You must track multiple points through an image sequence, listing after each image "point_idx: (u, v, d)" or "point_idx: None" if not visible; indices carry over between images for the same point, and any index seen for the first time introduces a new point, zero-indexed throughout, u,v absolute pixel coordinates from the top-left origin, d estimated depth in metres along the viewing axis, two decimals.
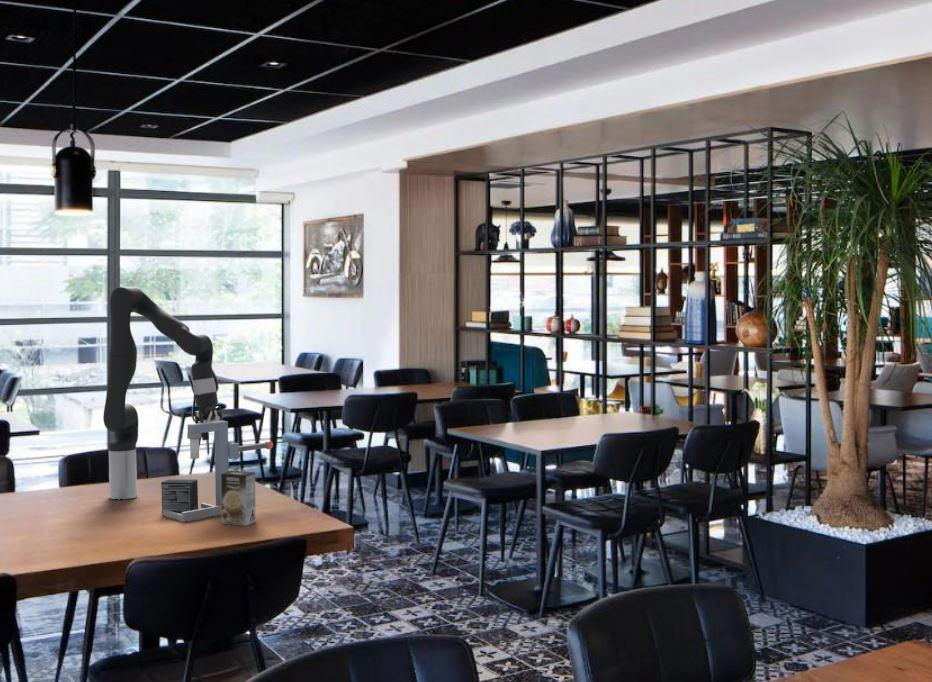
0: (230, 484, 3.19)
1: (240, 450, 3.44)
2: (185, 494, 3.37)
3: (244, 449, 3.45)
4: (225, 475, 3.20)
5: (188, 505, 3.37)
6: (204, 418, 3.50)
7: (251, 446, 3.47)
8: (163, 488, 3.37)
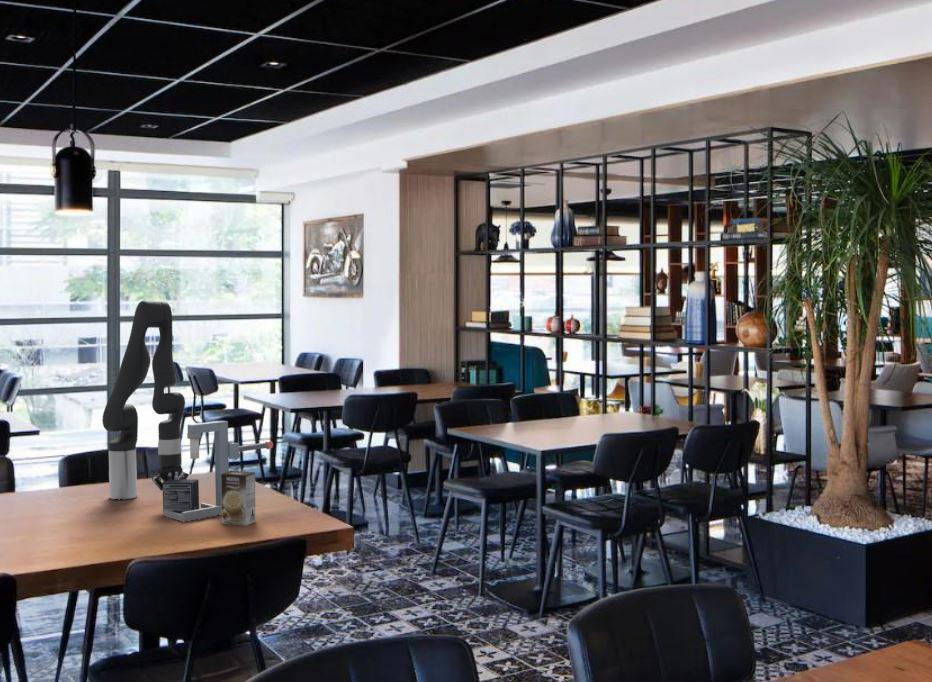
0: (230, 484, 3.19)
1: (240, 450, 3.44)
2: (186, 493, 3.36)
3: (244, 449, 3.45)
4: (225, 475, 3.20)
5: (190, 505, 3.36)
6: None
7: (251, 446, 3.47)
8: (164, 488, 3.37)
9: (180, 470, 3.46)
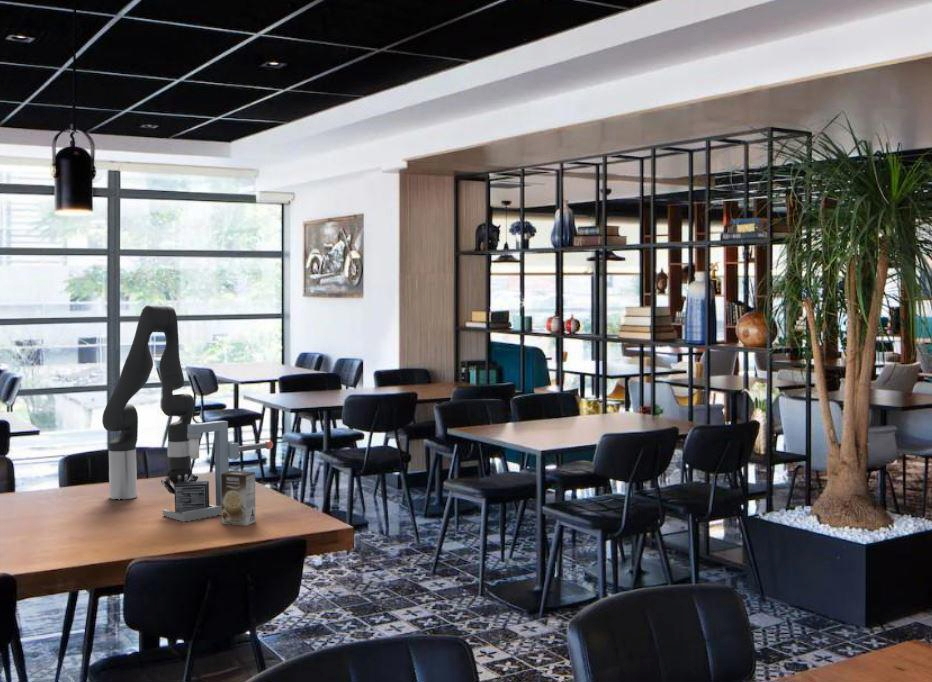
0: (230, 484, 3.19)
1: (240, 450, 3.44)
2: (200, 495, 3.33)
3: (244, 449, 3.45)
4: (225, 475, 3.20)
5: (203, 507, 3.34)
6: None
7: (251, 446, 3.47)
8: (176, 491, 3.32)
9: (190, 473, 3.41)
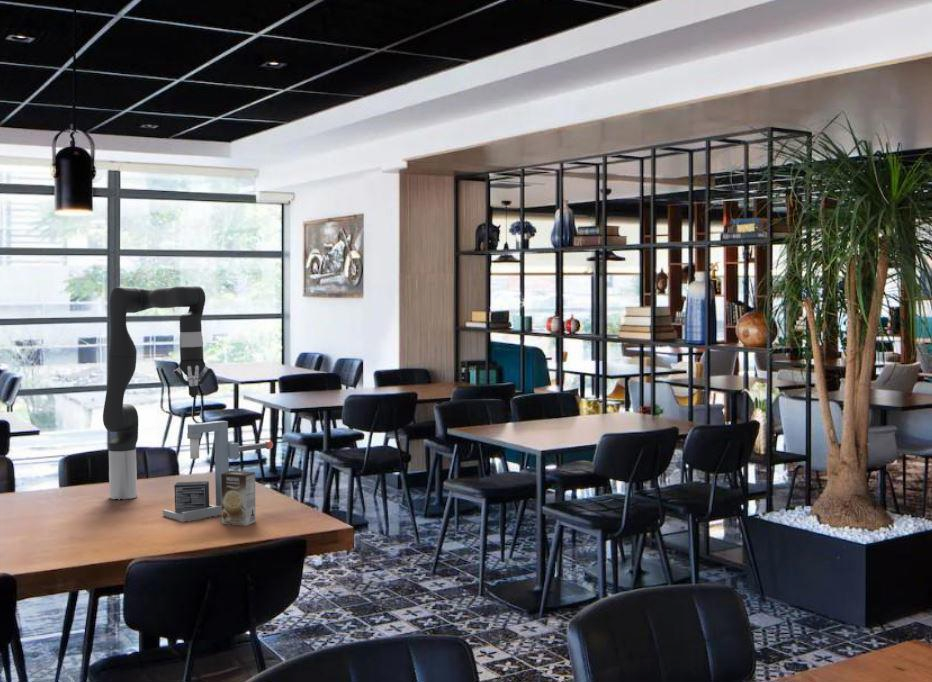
0: (230, 484, 3.19)
1: (240, 450, 3.44)
2: (200, 496, 3.33)
3: (244, 449, 3.45)
4: (225, 475, 3.20)
5: (204, 507, 3.34)
6: None
7: (251, 446, 3.47)
8: (176, 491, 3.32)
9: (202, 364, 3.42)
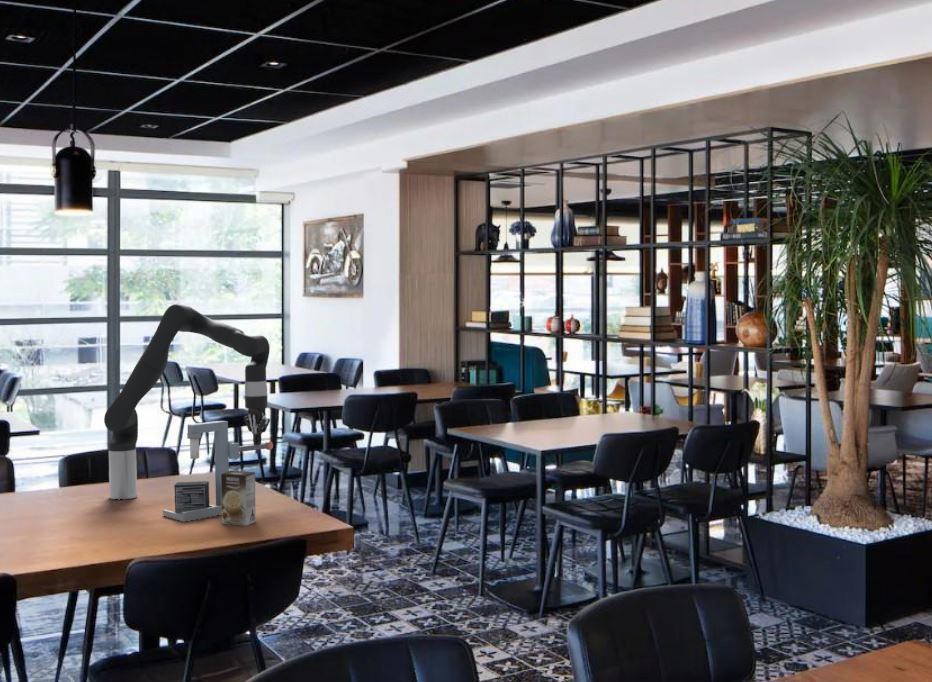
0: (230, 484, 3.19)
1: (240, 450, 3.44)
2: (200, 496, 3.33)
3: (244, 449, 3.45)
4: (225, 475, 3.20)
5: (204, 507, 3.34)
6: None
7: (251, 446, 3.47)
8: (176, 491, 3.32)
9: (259, 414, 3.46)
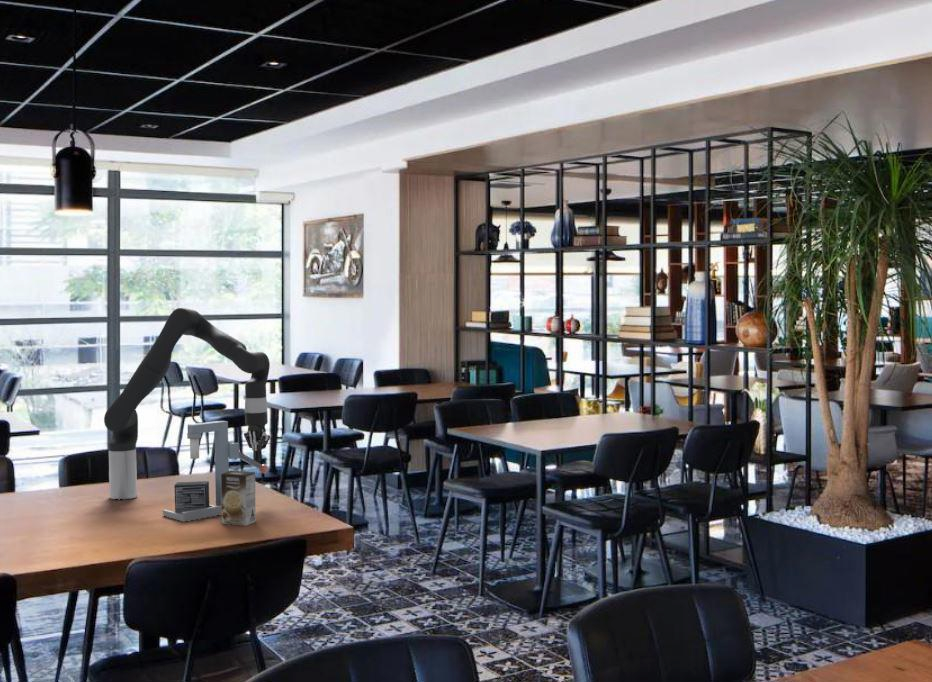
0: (230, 484, 3.19)
1: None
2: (200, 496, 3.33)
3: (242, 457, 3.44)
4: (225, 475, 3.20)
5: (204, 507, 3.34)
6: None
7: (249, 458, 3.46)
8: (176, 491, 3.32)
9: (259, 431, 3.46)
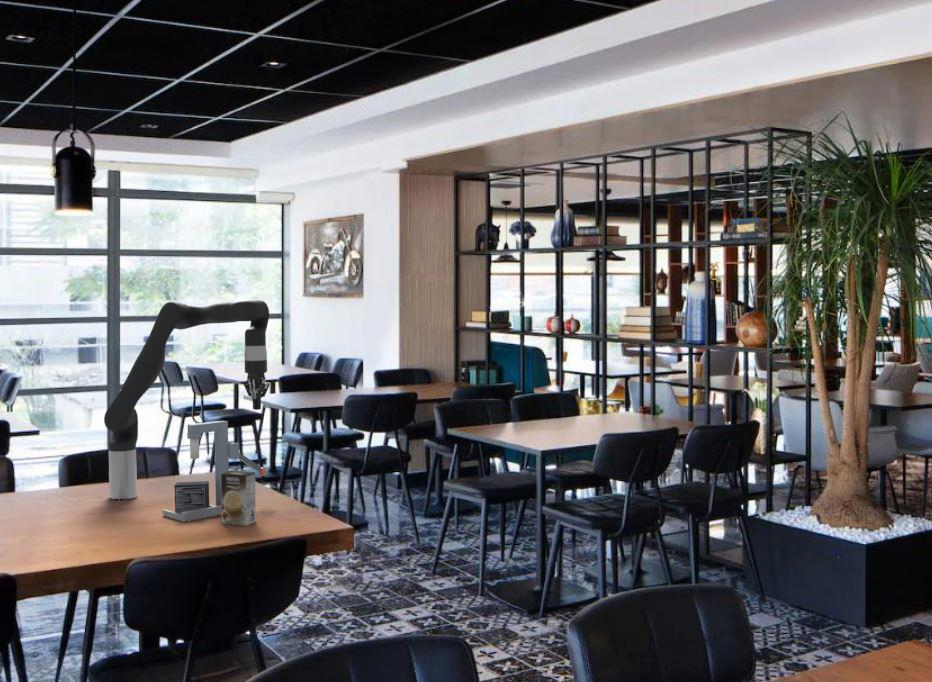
0: (230, 484, 3.19)
1: None
2: (200, 496, 3.33)
3: (241, 457, 3.44)
4: (225, 475, 3.20)
5: (204, 507, 3.34)
6: None
7: (248, 460, 3.46)
8: (176, 491, 3.32)
9: (258, 379, 3.45)
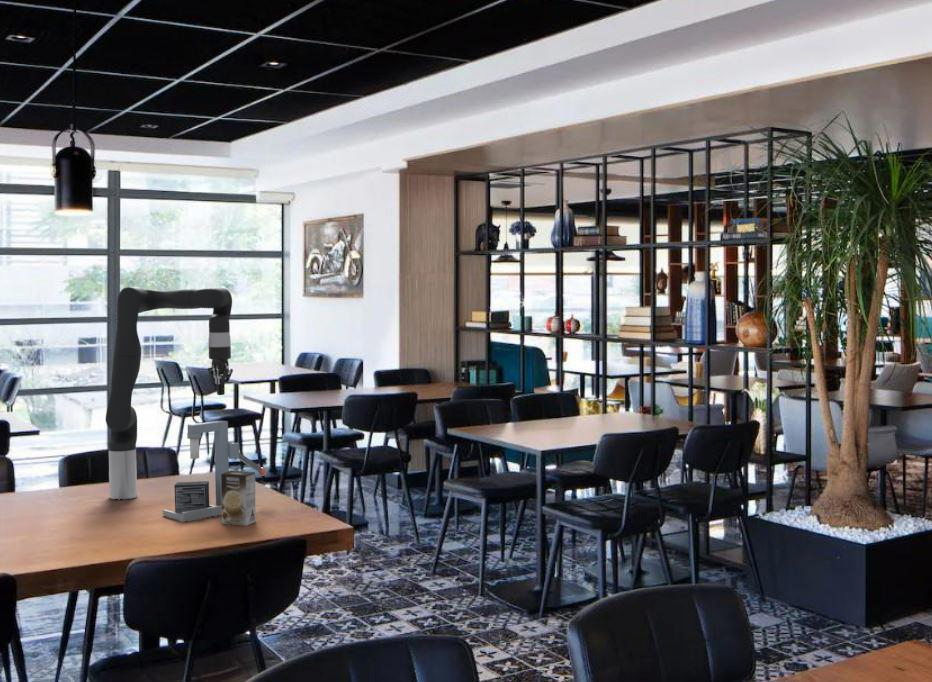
0: (230, 484, 3.19)
1: None
2: (200, 496, 3.33)
3: (241, 457, 3.44)
4: (225, 475, 3.20)
5: (204, 507, 3.34)
6: None
7: (248, 460, 3.46)
8: (176, 491, 3.32)
9: (222, 365, 3.53)
